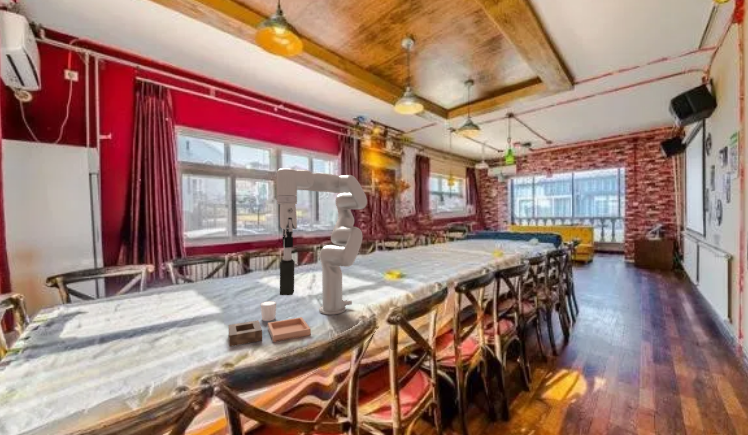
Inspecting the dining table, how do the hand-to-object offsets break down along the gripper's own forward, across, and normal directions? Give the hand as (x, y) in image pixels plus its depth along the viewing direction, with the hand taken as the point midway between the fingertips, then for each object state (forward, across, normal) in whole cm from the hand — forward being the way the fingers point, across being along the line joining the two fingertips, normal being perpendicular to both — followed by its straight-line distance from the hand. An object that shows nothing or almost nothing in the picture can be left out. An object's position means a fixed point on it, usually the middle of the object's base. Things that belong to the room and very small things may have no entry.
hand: (287, 246), depth 122 cm
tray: (+34, 0, 0) cm, 34 cm away
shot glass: (+35, +19, +5) cm, 40 cm away
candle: (+19, 0, +1) cm, 19 cm away
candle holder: (+34, +2, +16) cm, 38 cm away
